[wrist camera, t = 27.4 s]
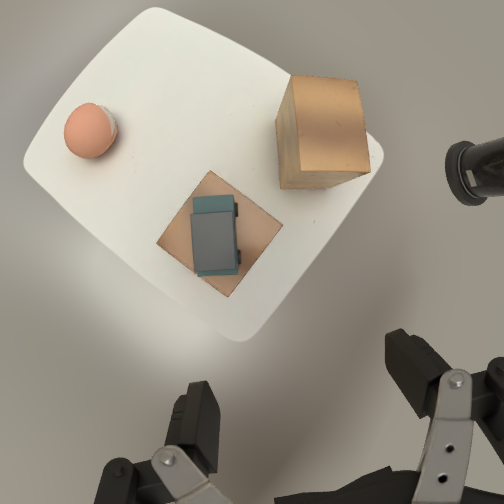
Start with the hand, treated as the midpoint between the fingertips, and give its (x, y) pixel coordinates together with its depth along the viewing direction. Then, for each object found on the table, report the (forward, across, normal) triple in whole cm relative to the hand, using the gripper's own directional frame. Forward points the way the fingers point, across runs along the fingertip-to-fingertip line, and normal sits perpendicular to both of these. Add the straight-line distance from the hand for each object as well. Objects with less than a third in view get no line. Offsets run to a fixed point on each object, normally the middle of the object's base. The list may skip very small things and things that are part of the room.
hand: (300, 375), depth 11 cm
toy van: (+27, +5, -2) cm, 27 cm away
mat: (+28, +5, -2) cm, 28 cm away
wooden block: (+29, -9, -10) cm, 32 cm away
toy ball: (+30, +19, -20) cm, 41 cm away
